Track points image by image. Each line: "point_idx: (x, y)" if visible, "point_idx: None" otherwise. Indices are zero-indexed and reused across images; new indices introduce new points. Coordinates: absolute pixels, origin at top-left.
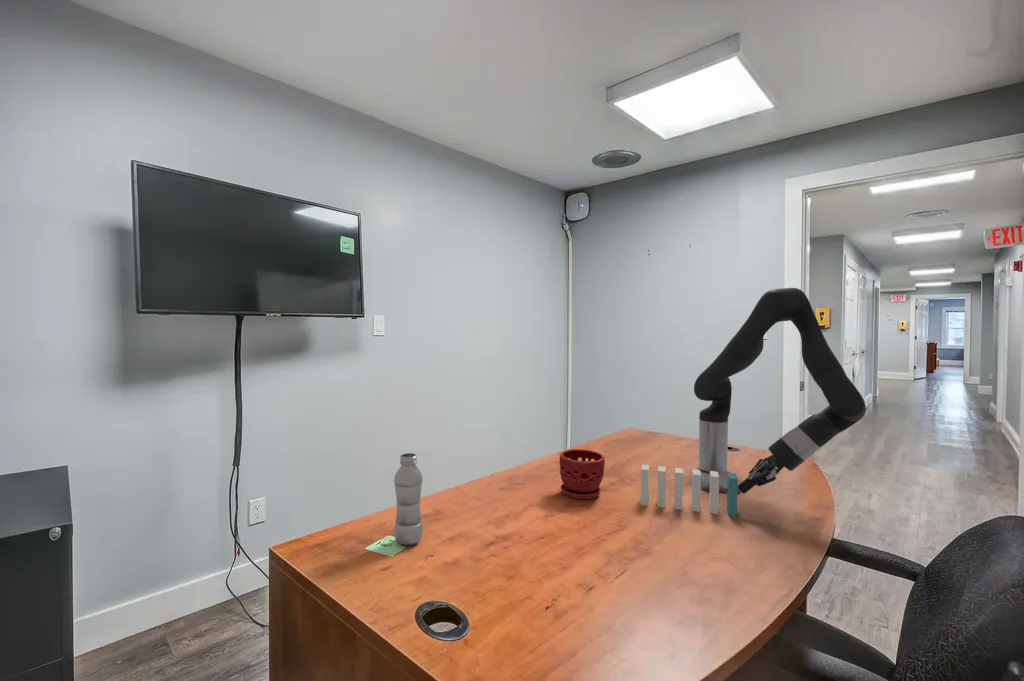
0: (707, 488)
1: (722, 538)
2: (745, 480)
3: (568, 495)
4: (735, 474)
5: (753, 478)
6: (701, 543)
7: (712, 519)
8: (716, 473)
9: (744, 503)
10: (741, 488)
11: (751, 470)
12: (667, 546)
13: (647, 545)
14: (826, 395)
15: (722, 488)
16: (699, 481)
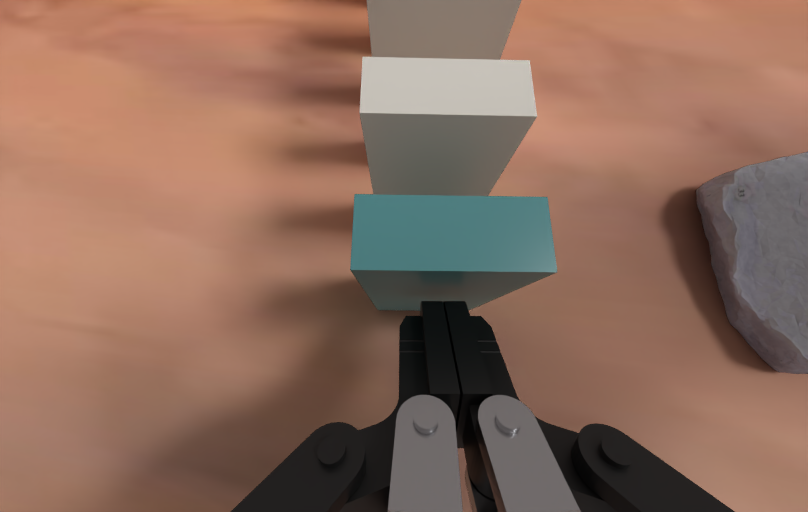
0: (703, 207)
1: (117, 228)
2: (448, 361)
3: None
4: (511, 264)
5: (302, 451)
6: (64, 157)
7: (313, 207)
8: (467, 102)
9: (586, 368)
10: (404, 323)
11: (652, 478)
12: (34, 64)
13: (40, 17)
14: None
15: (726, 272)
16: (371, 40)
